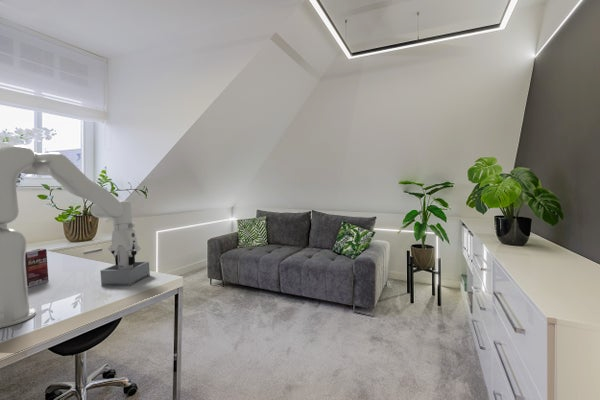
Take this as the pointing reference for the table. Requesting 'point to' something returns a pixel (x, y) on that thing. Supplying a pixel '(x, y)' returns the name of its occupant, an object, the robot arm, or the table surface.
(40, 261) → the supplement box
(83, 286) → the table surface
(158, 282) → the table surface
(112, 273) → the desk bin
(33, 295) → the table surface
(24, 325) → the table surface
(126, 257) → the energy drink can
